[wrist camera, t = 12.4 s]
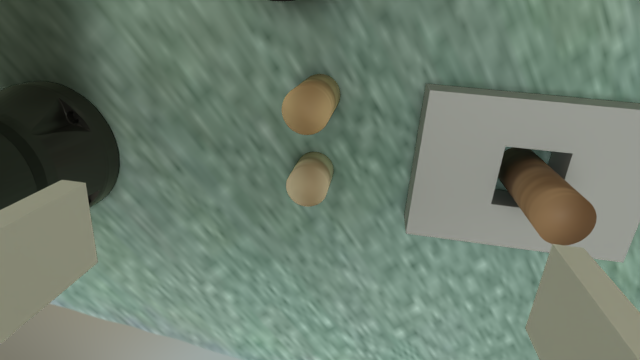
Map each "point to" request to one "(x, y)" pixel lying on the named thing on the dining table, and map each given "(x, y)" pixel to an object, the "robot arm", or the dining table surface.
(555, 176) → the long pin
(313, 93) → the medium pin
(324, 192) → the short pin
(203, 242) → the dining table surface
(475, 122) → the hole board
